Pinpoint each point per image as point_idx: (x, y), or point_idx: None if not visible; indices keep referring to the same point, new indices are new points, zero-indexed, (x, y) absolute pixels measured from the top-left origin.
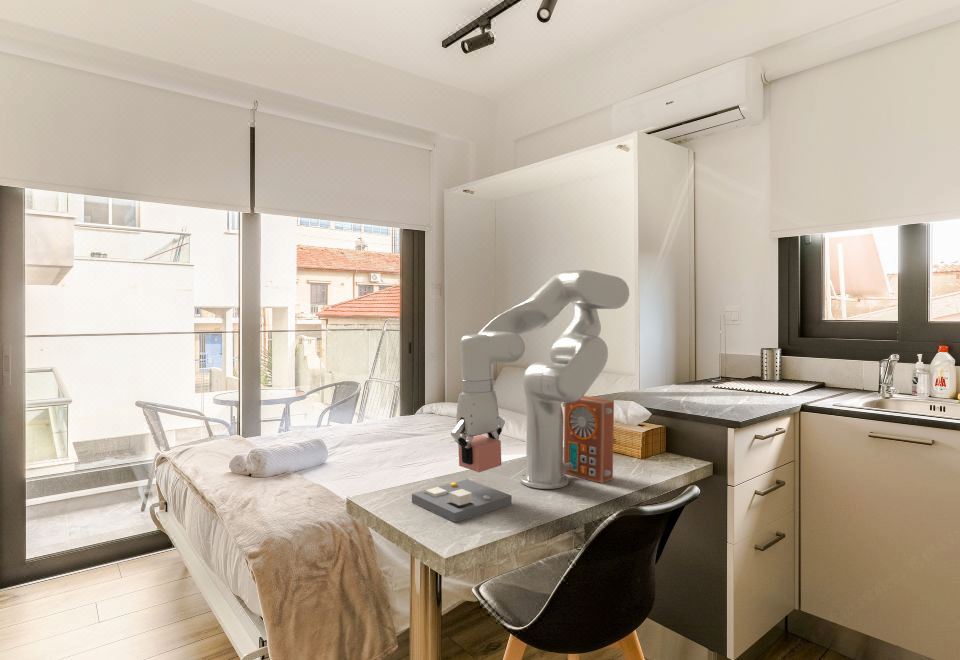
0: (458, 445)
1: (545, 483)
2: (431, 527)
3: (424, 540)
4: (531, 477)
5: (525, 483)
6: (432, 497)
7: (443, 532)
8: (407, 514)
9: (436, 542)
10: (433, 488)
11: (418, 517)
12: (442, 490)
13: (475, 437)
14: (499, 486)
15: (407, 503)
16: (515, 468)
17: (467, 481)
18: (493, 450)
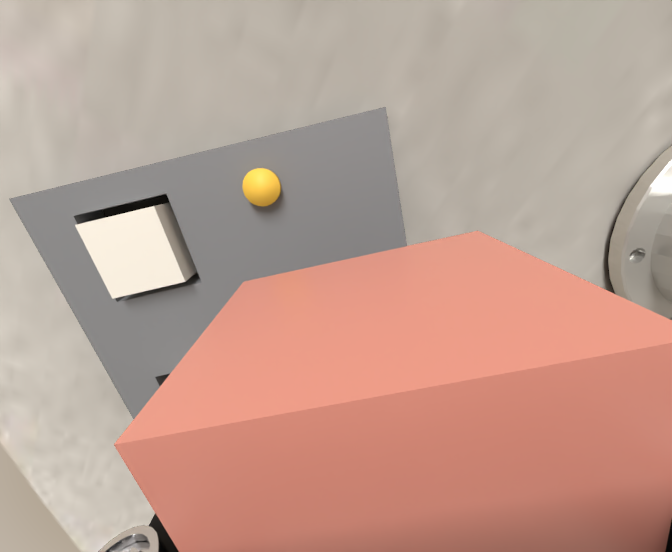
0: (158, 390)
1: (665, 305)
2: (89, 438)
3: (53, 497)
4: (669, 254)
5: (616, 242)
6: (109, 294)
7: (119, 475)
8: (15, 316)
9: (85, 514)
10: (123, 219)
11: (56, 356)
12: (163, 269)
13: (509, 410)
14: (514, 185)
15: None
16: None
17: (365, 148)
18: None
